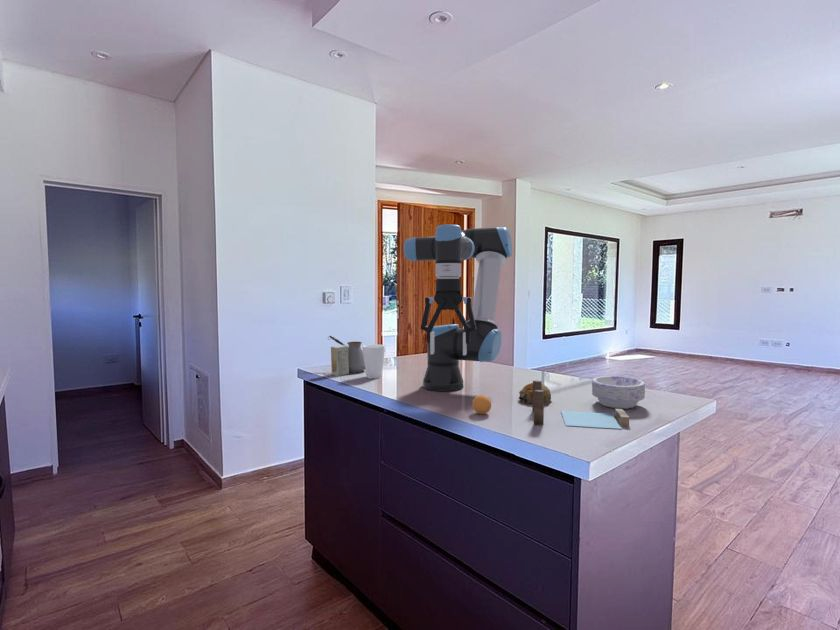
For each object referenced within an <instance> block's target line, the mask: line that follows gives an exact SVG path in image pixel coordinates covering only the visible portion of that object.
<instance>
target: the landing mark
mask: <svg viewBox="0 0 840 630" xmlns="http://www.w3.org/2000/svg"><path fill="white" fill-rule="evenodd" d="M560 412H561V416H562V419H563V421H564V425H565V427H573V428H574V427H575V428H576V427H577V428H594V429H610V430H622V426H621V425H620V424H619V422H618V421H617V420H616V418H615V416H613V414H612V413H607V412H591V411H590V412H589V411H588V412H587V411H574V410H573V411H572V410H570V411H569V410H568V411H567V410H561V411H560Z"/></svg>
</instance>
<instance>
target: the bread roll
mask: <svg viewBox="0 0 840 630" xmlns="http://www.w3.org/2000/svg"><path fill="white" fill-rule="evenodd" d="M542 391H544V405H549V404H552V403H553V402H552V394H551V391H550V389H549V387H548V386H546V385H545V384H543V383H542ZM518 393H519V396H518V400H520V401H521V402H522V403H525V404H529V405H533V382H531V383H528V384H526V385H524V386H523V387H522V389H521V390H519V392H518Z"/></svg>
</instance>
